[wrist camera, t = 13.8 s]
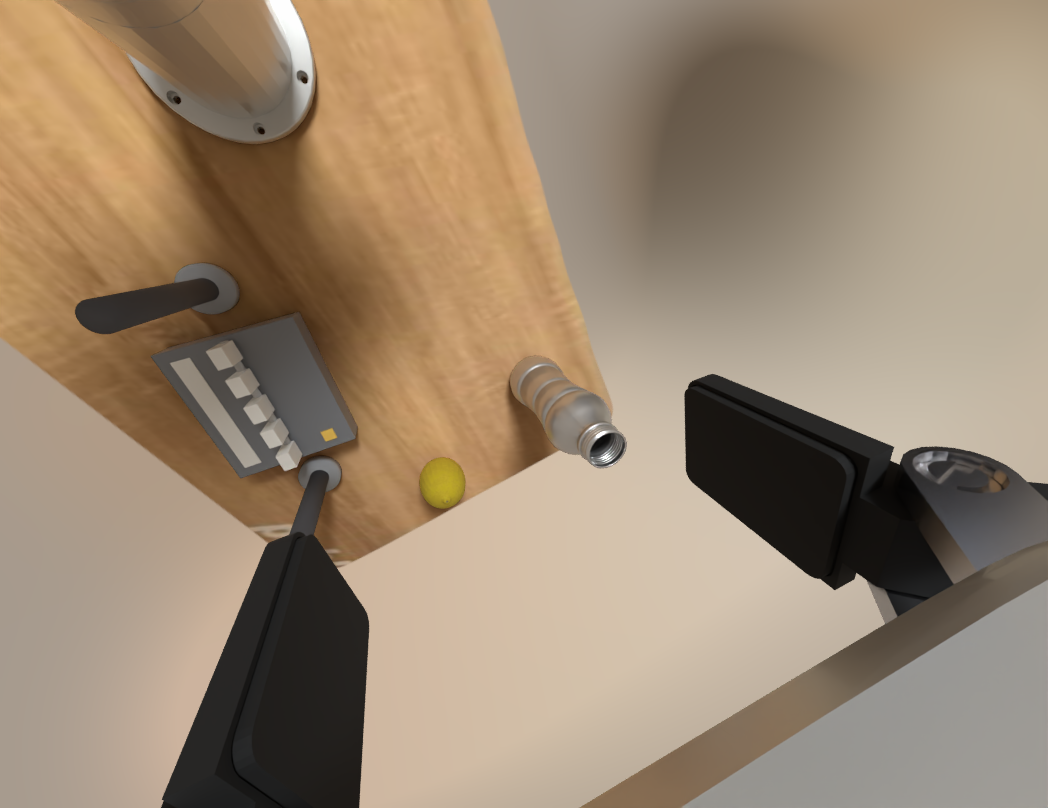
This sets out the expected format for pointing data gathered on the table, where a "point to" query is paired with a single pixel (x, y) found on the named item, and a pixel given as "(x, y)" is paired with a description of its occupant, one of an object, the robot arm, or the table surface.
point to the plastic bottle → (568, 412)
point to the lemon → (442, 482)
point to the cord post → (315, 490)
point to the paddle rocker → (256, 403)
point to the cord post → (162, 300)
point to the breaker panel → (284, 376)
